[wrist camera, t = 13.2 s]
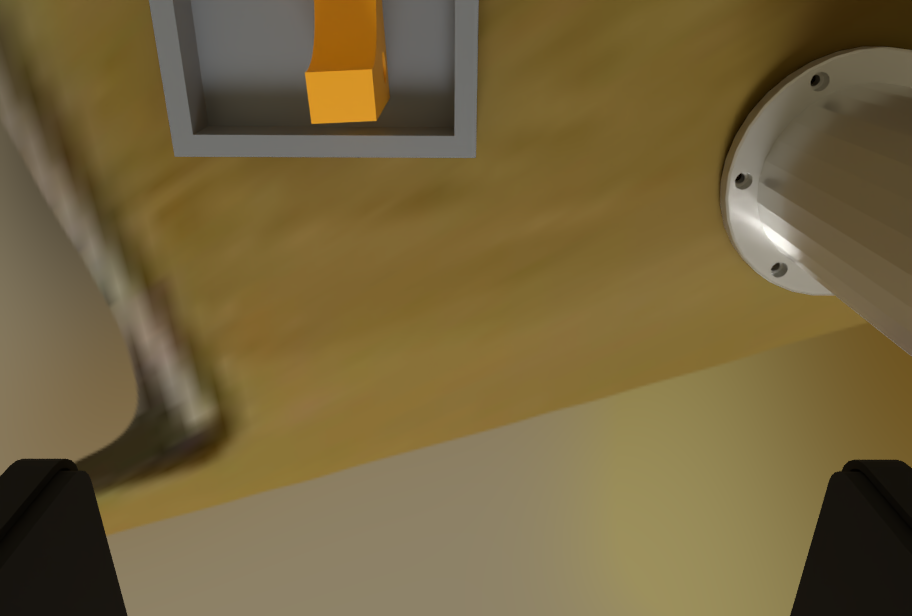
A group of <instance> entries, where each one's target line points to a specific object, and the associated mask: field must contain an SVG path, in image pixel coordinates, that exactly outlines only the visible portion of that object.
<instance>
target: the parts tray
mask: <svg viewBox="0 0 912 616" xmlns="http://www.w3.org/2000/svg"><path fill="white" fill-rule="evenodd" d="M478 3H479V0H382V8H383V20H384V32H385V44H386V56H387V68H388V81H389V93H390V99H389V100H388V102H387V104H386V106H385V107H384V109H383V111H382V112H381V114H380V116H379V118H378V119H377V121H363V122H342V123H321V124H311V116H310V108H309V101H308V93H307V85H306V78H305V72H306V71H307V70H308V68H309V66H310V63H311V59H312V54H313V46H314V29H315V14H314V0H149V4H150V10H151V16H152V22H153V28H154V34H155V40H156V46H157V52H158V58H159V64H160V70H161V76H162V82H163V88H164V94H165V100H166V107H167V113H168V119H169V125H170V131H171V137H172V143H173V149H174V155H175V156H177V157H412V158H476V118H477V61H478Z"/></svg>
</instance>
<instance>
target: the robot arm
mask: <svg viewBox="0 0 912 616" xmlns="http://www.w3.org/2000/svg"><path fill="white" fill-rule="evenodd" d="M814 75H815V76H816V80H815V82H814V83H813V84H811V80H812V77H813V76H814ZM740 173H741V175H742V176H741V179H740V180H738V181H735V179H736V177H737V176H738V175H739V174H740ZM720 207H721V212H722V218H723V223H724V227H725V229H726V232H727V234H728V236H729V239H730V241H731V243H732V245H733V246H734V248H735V249H736V251H737V252H738V253H739V255H740V256H741V257H742V259H743V260H744V261H745V262H746V263H747V264H748V265H749V266H750V267H751V268H752V269H753V270H754V271H755V272H757V273H758V274H759V275H761V276H762V277H763V278H765V279H766V280H768V281H769V282H771V283H773V284H775V285H777V286H780V287H782V288H785V289H787V290H790V291H793V292H798V293H803V294H809V295H835V296H836V297H838V298H839V299H840V300H841V301H843V302H844V303H845V304H847V305H848V306H849V307H850V308H852V309H853V310H854V311H855V312H857V313H858V314H859V315H860V316H862V317H863V318H864V319H865V320H867V321H868V322H869V323H870V324H872V325H873V326H874V327H875V328H877V329H878V330H879V331H881V332H882V333H883V334H884V335H886V336H887V337H888V338H889V339H891V340H892V341H893V342H894V343H896V344H897V345H898V346H899V347H901V348H902V349H903V350H905V351H906V352H907V353H908V354H910V355H911V356H912V50H908V49H901V48H894V47H858V48H853V49H847V50H842V51H837V52H835V53H832V54H829V55H827V56H824V57H822V58H819V59H816V60H814V61H812V62H810V63H808V64H806V65H805V66H803V67H801V68H800V69H798V70H796V71H795V72H793V73H791V74H790V75H788V76H787V77H786V78H784V79H783V80H782V81H781V82H780V83H778V84H777V85H776V86H775V87H774V88H772V89H771V90H770V91H769V92H768V93H767V94H766V95H765V96H764V97H763V98H762V99H761V100H760V102H759V103H758V104H757V105H756V106H755V107H754V108H753V110H752V111H751V112H750V113H749V114H748V116H747V118H746V119H745V121H744V123H743V124H742V126H741V127H740V129H739V131H738V132H737V134H736V135H735V138H734V140H733V142H732V145H731V147H730V150H729V152H728V155H727V157H726V160H725V164H724V169H723V173H722V178H721V186H720ZM774 264H776V265H775V266H774V267H772V266H773V265H774ZM0 616H127V613H126V608H125V605H124V601H123V597H122V594H121V590H120V586H119V583H118V579H117V575H116V571H115V568H114V564H113V560H112V556H111V553H110V549H109V545H108V542H107V538H106V534H105V530H104V527H103V523H102V519H101V516H100V512H99V508H98V504H97V501H96V497H95V493H94V490H93V486H92V482H91V479H90V477H89V475H88V474H87V473H86V472H85V471H78V469H77V466H76V465H75V464H74V462H72V460H68V459H21V460H17V461H15V462H14V463H13V464H12V465H10V466H9V467H8V469H7V470H6V471H5V472H4V473H3V474H2V475H1V476H0ZM790 616H912V468H911V467H909V466H908V465H907V464H906V463H904V462H902V461H899V460H852V461H848V463H846V464H845V465H844V467H843V469H842V471H839V472H835V473H834V474H833V475H832V476H831V478H830V480H829V483H828V487H827V490H826V494H825V497H824V501H823V504H822V508H821V511H820V515H819V518H818V522H817V525H816V528H815V532H814V535H813V539H812V542H811V546H810V549H809V553H808V556H807V560H806V563H805V566H804V570H803V573H802V577H801V580H800V584H799V587H798V591H797V594H796V598H795V601H794V604H793V608H792V611H791V615H790Z"/></svg>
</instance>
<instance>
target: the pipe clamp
mask: <svg viewBox="0 0 912 616" xmlns="http://www.w3.org/2000/svg"><path fill="white" fill-rule="evenodd" d="M314 14H315V29H314V46H313V54H312V59H311V63H310V66H309V68H308V70H307V71H306V72H305V78H306V85H307V93H308V101H309V108H310V116H311V124H321V123H342V122H363V121H377V119H378V118H379V116H380V114H381V112H382V111H383V109H384V107H385V106H386V104H387V102H388V100H389V99H390V93H389V81H388V68H387V56H386V44H385V32H384V20H383V8H382V0H314Z"/></svg>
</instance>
